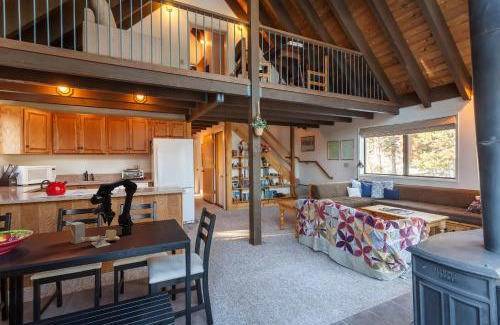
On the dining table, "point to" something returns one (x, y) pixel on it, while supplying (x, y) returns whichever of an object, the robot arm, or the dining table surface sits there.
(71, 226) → the small box
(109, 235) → the wooden block
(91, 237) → the beam
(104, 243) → the pivot stand
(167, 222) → the dining table surface
